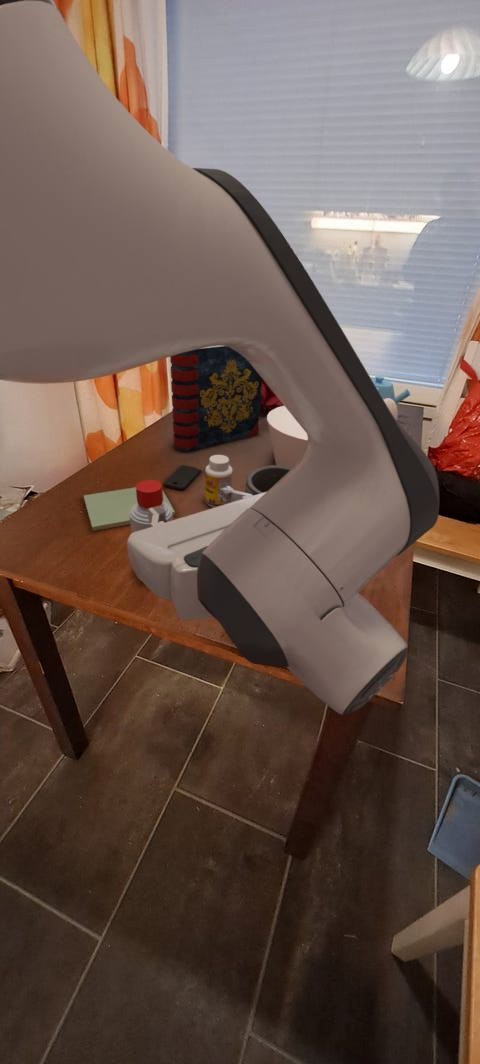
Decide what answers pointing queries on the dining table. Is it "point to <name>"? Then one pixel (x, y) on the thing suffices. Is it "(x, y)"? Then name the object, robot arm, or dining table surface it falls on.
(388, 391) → the teapot
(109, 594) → the dining table surface
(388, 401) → the egg
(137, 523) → the bottle
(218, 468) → the supplement bottle
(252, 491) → the planter
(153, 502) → the cap
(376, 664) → the robot arm
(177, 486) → the black tag with hole
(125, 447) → the dining table surface
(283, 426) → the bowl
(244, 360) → the book
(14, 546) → the dining table surface
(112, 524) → the mat
